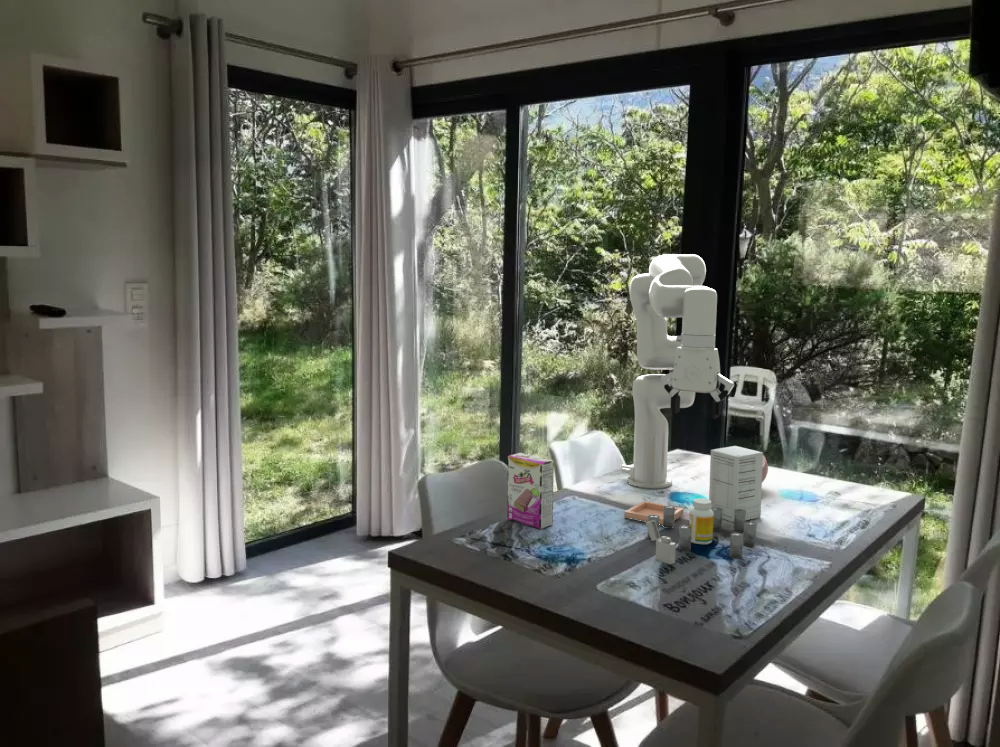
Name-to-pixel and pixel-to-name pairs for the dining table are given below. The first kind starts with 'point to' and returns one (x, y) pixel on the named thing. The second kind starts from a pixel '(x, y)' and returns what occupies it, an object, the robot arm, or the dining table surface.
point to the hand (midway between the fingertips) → (695, 415)
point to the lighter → (661, 544)
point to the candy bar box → (530, 490)
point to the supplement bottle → (701, 521)
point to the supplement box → (736, 481)
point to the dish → (650, 511)
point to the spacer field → (735, 540)
